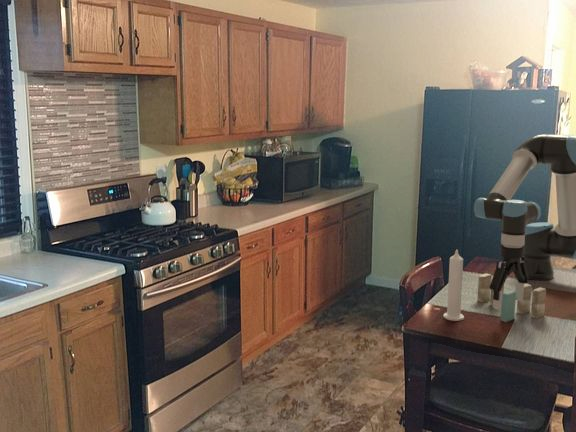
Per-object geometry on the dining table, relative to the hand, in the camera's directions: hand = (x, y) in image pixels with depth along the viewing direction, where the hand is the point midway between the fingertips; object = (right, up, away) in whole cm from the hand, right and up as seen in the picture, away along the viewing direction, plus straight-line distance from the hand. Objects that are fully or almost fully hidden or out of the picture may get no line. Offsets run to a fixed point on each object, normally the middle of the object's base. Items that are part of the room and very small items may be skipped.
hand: (508, 304), depth 205 cm
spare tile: (0, -5, +1) cm, 6 cm away
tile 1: (+12, -5, +4) cm, 14 cm away
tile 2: (+9, -4, +8) cm, 13 cm away
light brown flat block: (-2, -1, +21) cm, 21 cm away
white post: (-18, -5, +4) cm, 19 cm away
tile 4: (+2, -2, +17) cm, 17 cm away
